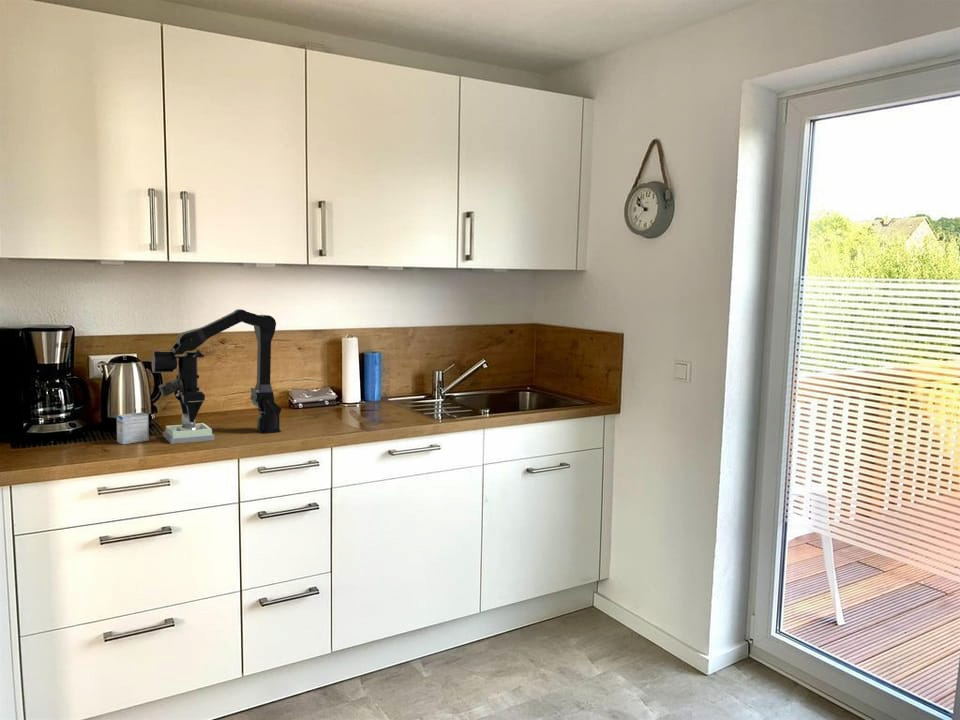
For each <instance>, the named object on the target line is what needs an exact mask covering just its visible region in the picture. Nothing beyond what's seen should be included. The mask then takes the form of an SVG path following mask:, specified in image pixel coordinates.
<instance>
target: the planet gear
mask: <svg viewBox="0 0 960 720" xmlns="http://www.w3.org/2000/svg"><path fill="white" fill-rule="evenodd" d="M195 424H196V419H195V420H194V422H190V420H189V415H188V414H183V413H182V414H181V425H182V426H177V427H176V431H187V430H199V429H201V426H197V425H195Z"/></svg>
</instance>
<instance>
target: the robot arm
mask: <svg viewBox="0 0 960 720" xmlns="http://www.w3.org/2000/svg"><path fill="white" fill-rule="evenodd" d="M240 323H244V324H247V325H250V326H252V327H253V329H254V334H255V337H256V341H257V355H256V356H257V357H256V383H255V385H254V387H250V398H249V400H250V401H251V402H252V405H253V406H254V407H255V408H257V411H258V417H257V418H256V426H257V427H256V429H257V431H258V432H260V433H262V434H267V433H278V432H282V429H280V425H281V424H280V414H281V412H282V407H280V406H279V404H277V403H276V402H275V396H274V394H275V393H274V390H273V387H272V384H271V368H272V367H271V365H272V364H271V362H272V341H273V338H274V337H275V333H276V329H277V320H276V319H275V318H274V317H273V316H271V315H268V314H256V313H254V312H249V311H248V310H247V311H246V310H245V309H240V308H239V309H238V308H237V309H235V310H234V311H232V312H231V313H228V314H226V315H224V316H222V317H220V318H218V319H216V320H214V321H212V322H210V323H208V324H205V325H204V326H201V327H197V328H193V329H189V330H186V331H183V332H180V333H179V334H178V335H176V336H177V337H176V342H175V343H174V345H173V346H172V347H171V349H170V350H168V351H167V350H166V351H165V350H164V351H163V350H162V351H161V350H153V353H152V360H151V370H152V373H154V374H157V373H158V374H159V373H173V372H174V370H176V369H177V373H176V375H175V379H172V380H170V381H167V382H163V383H162V384H159V385H158V389H159V391H160V393H161V395H162V396H163V397H167V396H169V395H171V394H172V395H173V397H174V398H175V399H176V400H178V402H179V406H180V409H181V411H182V412H181V413H182V414H188V415H189V420H190V422H194V420H195V421H196V417H197V415H198V414H199V411H200V409H201V407H202V405H203V403H204V401H206V396H205V393H204V392H203V391H201V390H200V387H199V383H198V379H199V378H200V375H199V374H198V373H199V372H198V369H199V368H198V358H204V357H205V355H204V354H203V353H202V352H201V351H200V350H199V349H197V348H199V347H200V346H201V345H203V344H204V343H205V342H206V341H207V340H209V339H210V338H211V337H213V336H216V335H217V334H220V333H222V332H223V331H225V330H228V329H230V328H232V327H234V326H236V325H238V324H240ZM194 350H195V351H194ZM183 354H184V355H183Z"/></svg>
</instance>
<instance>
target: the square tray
mask: <svg viewBox="0 0 960 720" xmlns="http://www.w3.org/2000/svg"><path fill="white" fill-rule="evenodd" d="M195 425H197V426H201V429H199V430H187V431H176V427H177V426H182V424H175V425H174V424H173V425H165V431H163V432H162V433H163V434H162V437H163V439H165V440H166V441H167V442H169V444H170V445H173V444H184V443H185V444H186V443H194V442H196V443H197V442H207V441H215V440H216V439H215V437H216V436H215V434H213V428H211V427H209V426H208V425H207V424H205V423H204V422H200V423H195Z"/></svg>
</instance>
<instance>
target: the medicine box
mask: <svg viewBox="0 0 960 720" xmlns="http://www.w3.org/2000/svg"><path fill="white" fill-rule="evenodd" d="M116 437H117V438H116V441H117V443H118V444H121V445H128V444H134V443H142V442H149V414H148V413H145V412H133V413H124V414H117V415H116Z"/></svg>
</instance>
